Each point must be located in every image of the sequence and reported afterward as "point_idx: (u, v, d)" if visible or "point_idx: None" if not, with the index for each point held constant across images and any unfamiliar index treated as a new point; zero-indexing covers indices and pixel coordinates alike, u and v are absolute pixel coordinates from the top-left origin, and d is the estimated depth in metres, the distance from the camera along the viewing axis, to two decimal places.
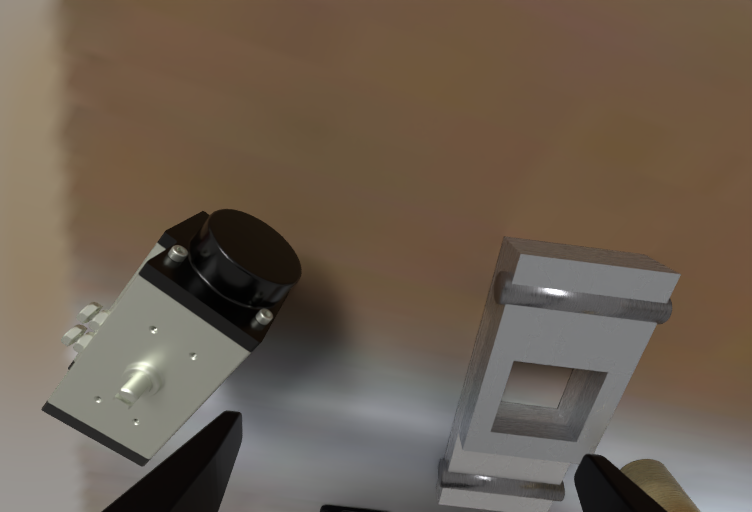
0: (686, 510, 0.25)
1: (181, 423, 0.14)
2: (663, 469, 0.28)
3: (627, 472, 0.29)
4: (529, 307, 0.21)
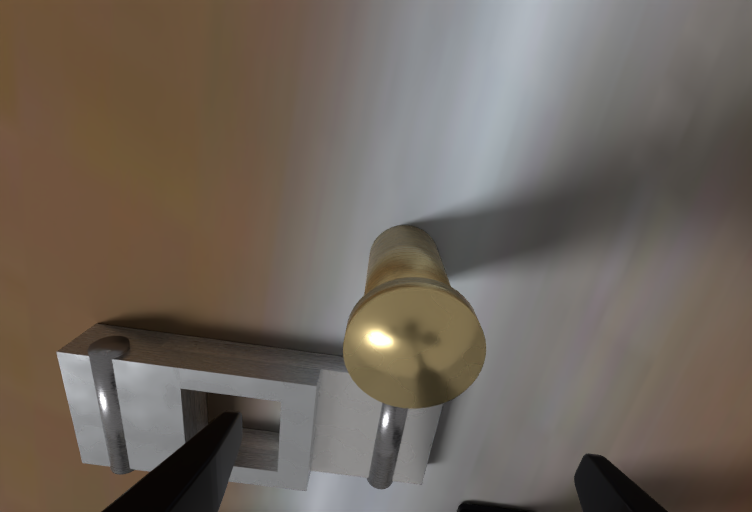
0: None
1: None
2: (371, 250, 0.20)
3: None
4: (126, 455, 0.23)
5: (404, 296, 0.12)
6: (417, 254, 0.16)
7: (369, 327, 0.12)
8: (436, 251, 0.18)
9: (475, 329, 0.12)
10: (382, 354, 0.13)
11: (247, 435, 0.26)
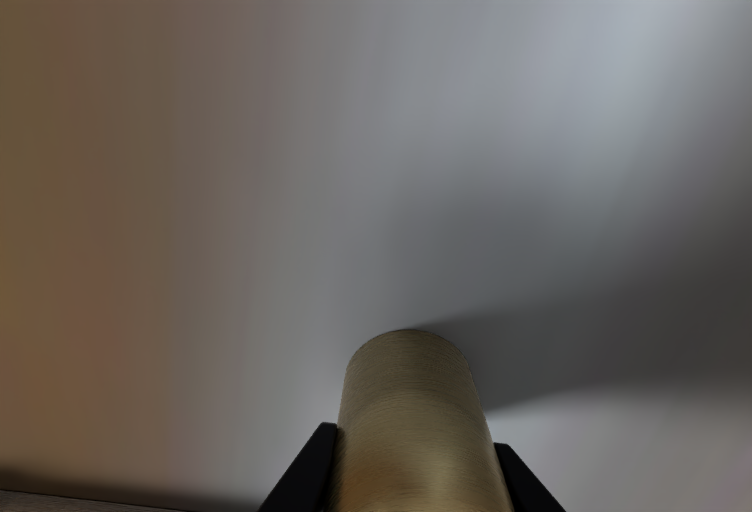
0: None
1: None
2: (345, 380, 0.10)
3: None
4: None
5: None
6: (443, 470, 0.06)
7: None
8: (475, 403, 0.09)
9: None
10: None
11: None
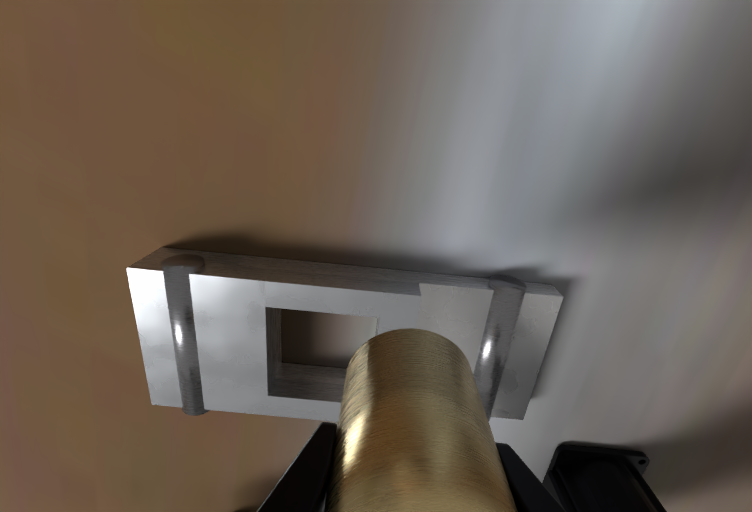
0: None
1: None
2: (346, 378, 0.10)
3: None
4: (201, 392, 0.21)
5: None
6: (445, 467, 0.06)
7: None
8: (477, 401, 0.09)
9: None
10: None
11: (327, 372, 0.23)
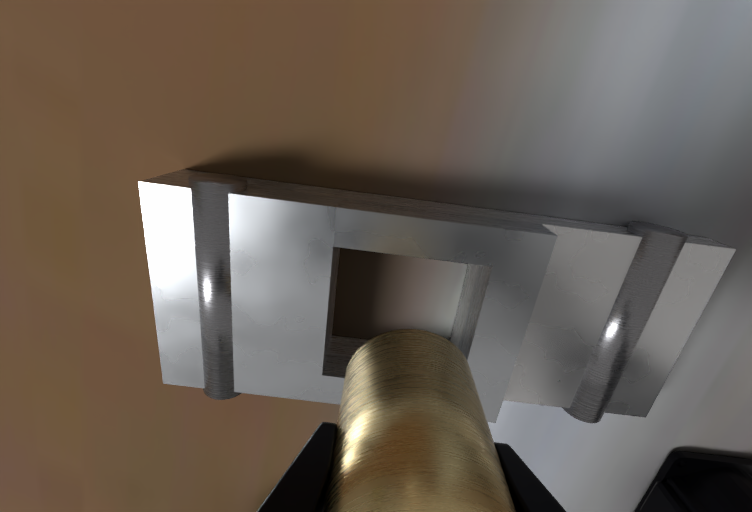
0: None
1: None
2: (345, 379, 0.10)
3: None
4: (232, 368, 0.15)
5: None
6: (444, 469, 0.06)
7: None
8: (476, 402, 0.09)
9: None
10: None
11: None
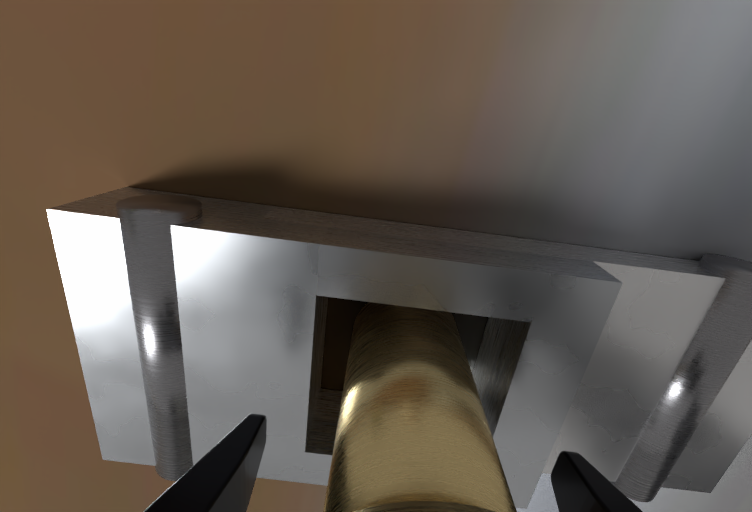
0: None
1: None
2: (354, 329, 0.13)
3: None
4: (189, 443, 0.12)
5: None
6: (429, 372, 0.09)
7: None
8: (458, 341, 0.11)
9: None
10: None
11: None
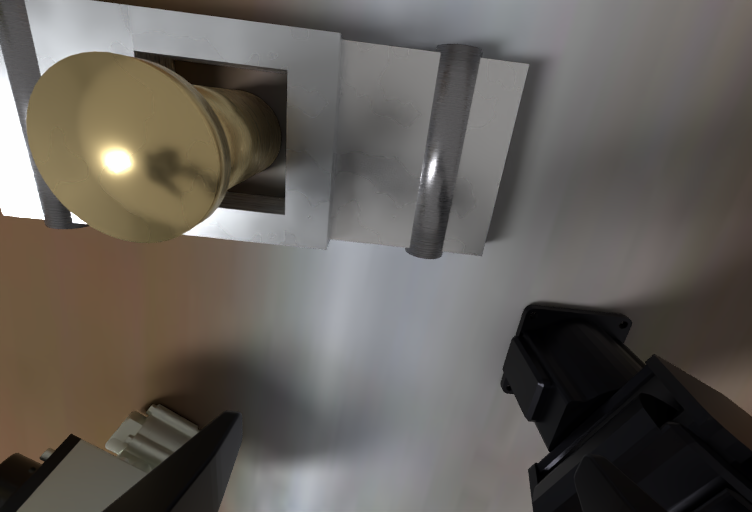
0: None
1: None
2: None
3: None
4: None
5: (81, 63, 0.09)
6: None
7: (53, 117, 0.09)
8: (255, 106, 0.16)
9: (189, 113, 0.09)
10: (84, 160, 0.10)
11: (240, 196, 0.19)
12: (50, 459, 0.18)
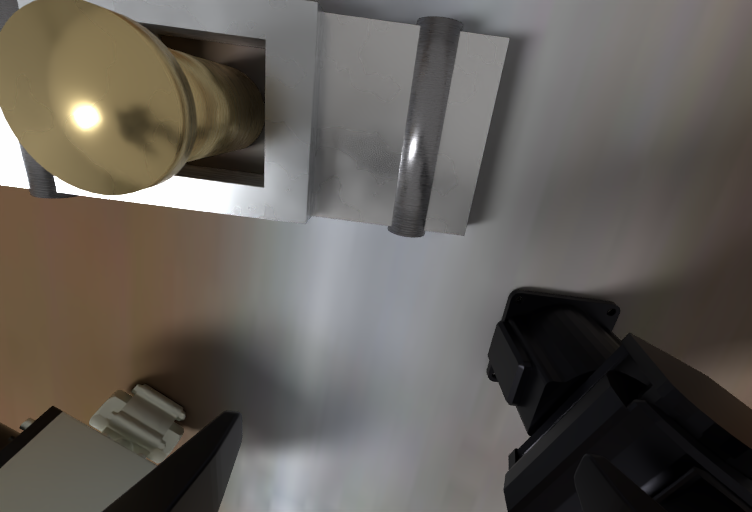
0: None
1: None
2: None
3: None
4: None
5: (44, 8, 0.09)
6: None
7: (18, 63, 0.10)
8: (236, 78, 0.16)
9: (150, 60, 0.09)
10: (49, 108, 0.10)
11: (224, 171, 0.19)
12: (29, 428, 0.18)
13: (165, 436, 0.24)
